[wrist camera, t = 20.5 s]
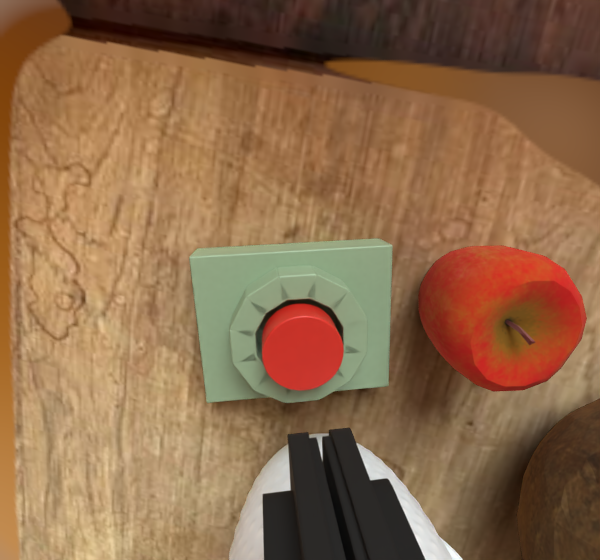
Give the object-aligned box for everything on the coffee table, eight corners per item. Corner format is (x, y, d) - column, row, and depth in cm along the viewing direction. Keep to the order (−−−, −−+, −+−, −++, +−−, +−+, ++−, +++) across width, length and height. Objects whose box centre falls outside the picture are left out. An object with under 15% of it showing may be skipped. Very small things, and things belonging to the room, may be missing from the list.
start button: (264, 374, 18) (264, 394, 17) (259, 305, 17) (259, 319, 16) (336, 368, 19) (344, 387, 17) (335, 299, 18) (343, 313, 16)
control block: (211, 381, 22) (201, 425, 18) (196, 248, 20) (180, 265, 16) (377, 367, 23) (400, 406, 19) (379, 238, 21) (406, 251, 17)
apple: (395, 234, 21) (467, 265, 14) (500, 228, 21) (622, 255, 14) (392, 338, 22) (454, 414, 15) (489, 330, 23) (594, 400, 16)
